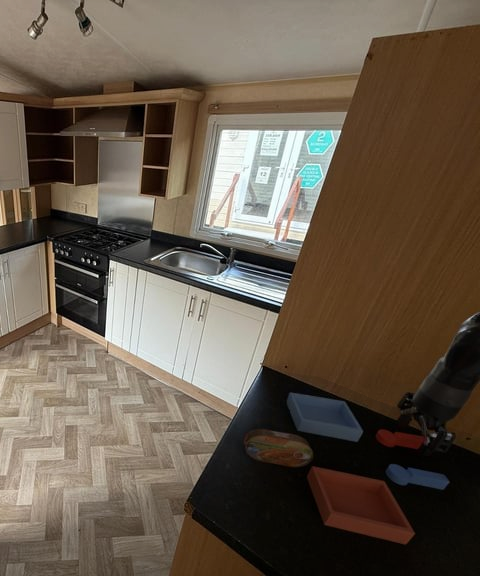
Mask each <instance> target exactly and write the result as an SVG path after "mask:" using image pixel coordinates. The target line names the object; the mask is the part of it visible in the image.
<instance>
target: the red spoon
mask: <svg viewBox="0 0 480 576" xmlns="http://www.w3.org/2000/svg"><path fill="white" fill-rule="evenodd" d="M375 439H376V441H377V442H379V443H380V444H381V445H382V446H385V447H388V448H394V447H395V446H399V447H402V448H403V447H404V448H409V449H415V450H417V449H418V448H419V447H420V445H421V444H422V442H423V443H424V440H423V435H422V436H421V435H416V434H410V433H405V432H400V431H395V432H394V433H393V432H391V431H390V430H387V429H384V428H383V429H379V430H378V431H377V432H376V434H375Z"/></svg>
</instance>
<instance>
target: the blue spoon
mask: <svg viewBox="0 0 480 576" xmlns="http://www.w3.org/2000/svg"><path fill="white" fill-rule="evenodd" d="M385 474H386V476H387V477H388V479H389V480H390V481H391V482H393V483H395V484H397V485H400V486H407V485H408V484H413V485H418V486H423V487H427V488H432V489H437V490H442V491H444V490H445V489H446V487H447V486H448V485H449V484H450V480H449V478H447V476H446V474H445V473H444V474H443V473H438V472H434V471H428V470H423V469H418V468H414V467H407V469H406V468H404V467H403V466H401V465H399V464H396V463H391V464H389V465H388V467H387V468H386V470H385Z"/></svg>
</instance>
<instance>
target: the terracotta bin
mask: <svg viewBox="0 0 480 576" xmlns="http://www.w3.org/2000/svg"><path fill="white" fill-rule="evenodd" d="M310 467H311V468H310V470H309V472H308V473H307V475H306V478H307V481H308V484H309V487H310V490H311V492H312V496H313V498H314V501H315V503H316V506H317V509H318V512H319V514H320V517H321V520H322V522H323V526H326V527H332V528H336V529H340V530H343V531H348V532H352V533H356V534H360V535H364V536H369V537H373V538H377V539H380V540H385V541H390V542H394V543H397V544H401V545H407V544H408V543H409V542H410V541H411V540H412V538H413V537H414V536H415V535H416V532H415V531H414V529H413V527H412V526H411V524H410V522H409V521H408V519H407V517H406V515H405V514H404V512H403V510H402V508H401V507H400V505H399V503H398V502H397V500H396V499H395V496H394V495H393V493H392V491H391V490H390V487H388V485H387V483H386V481H385V480H380V479H375V478H370V477H367V476H362V475H361V476H360V475H358V474H352V473H348V472H343V471H337V470H332V469H330V468H329V469H328V468H323V467H319V466H313V465H311V466H310Z"/></svg>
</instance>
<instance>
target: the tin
mask: <svg viewBox="0 0 480 576" xmlns="http://www.w3.org/2000/svg"><path fill="white" fill-rule="evenodd" d="M243 443H244V450H245V452H246V454H247V455H248V456H249V457H250V458H252V459H253V460H256V461H258V462H264V463H269V464H274V465H279V466H283V467H289V468H302V467H305V466H307V465H309V464H310V463H311V462H312V461H313V459H314V451H313V449H312V448H311V445H310V444H309V442H308V441H307V440H306V439H305V438H304V437H302V436H301V435H297V434H293V433H287V432H283V431H277V430H271V429H266V428H256V429H253V430H250V431H249V432H247V434H245V437H244V440H243Z"/></svg>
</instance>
